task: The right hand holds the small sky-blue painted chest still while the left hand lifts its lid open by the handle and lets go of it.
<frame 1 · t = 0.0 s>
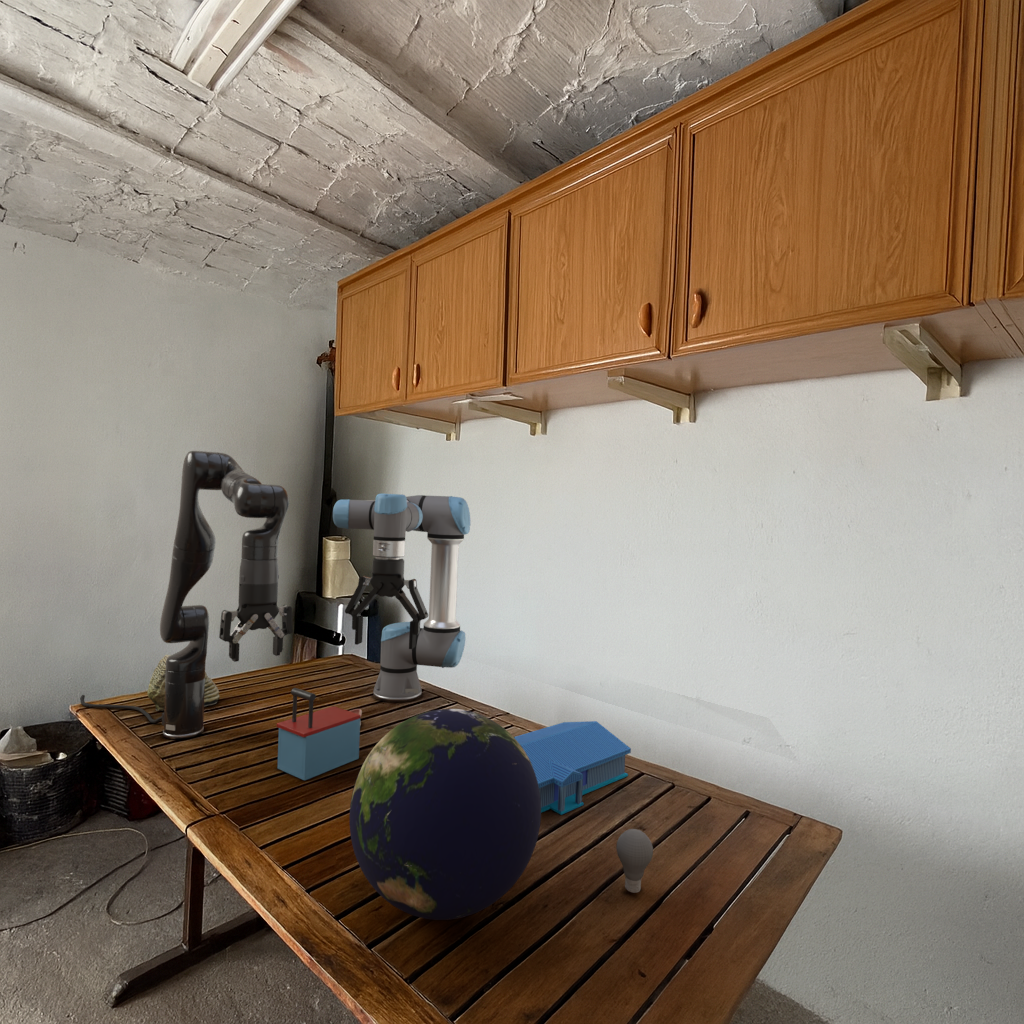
left hand: (256, 657, 132), 29 cm above the table, tool pointing down, fingers open, 8 cm apart
right hand: (385, 645, 153), 28 cm above the table, tool pointing down, fingers open, 13 cm apart
chest: (319, 763, 150), on the table
lid: (320, 704, 150), point 14 cm above the table, hinge at 0.0°
anatomical model: (335, 727, 174), on the table
light bulb: (632, 891, 106), on the table
model building: (543, 784, 144), on the table
globe: (442, 902, 101), on the table
fossil: (183, 706, 185), on the table
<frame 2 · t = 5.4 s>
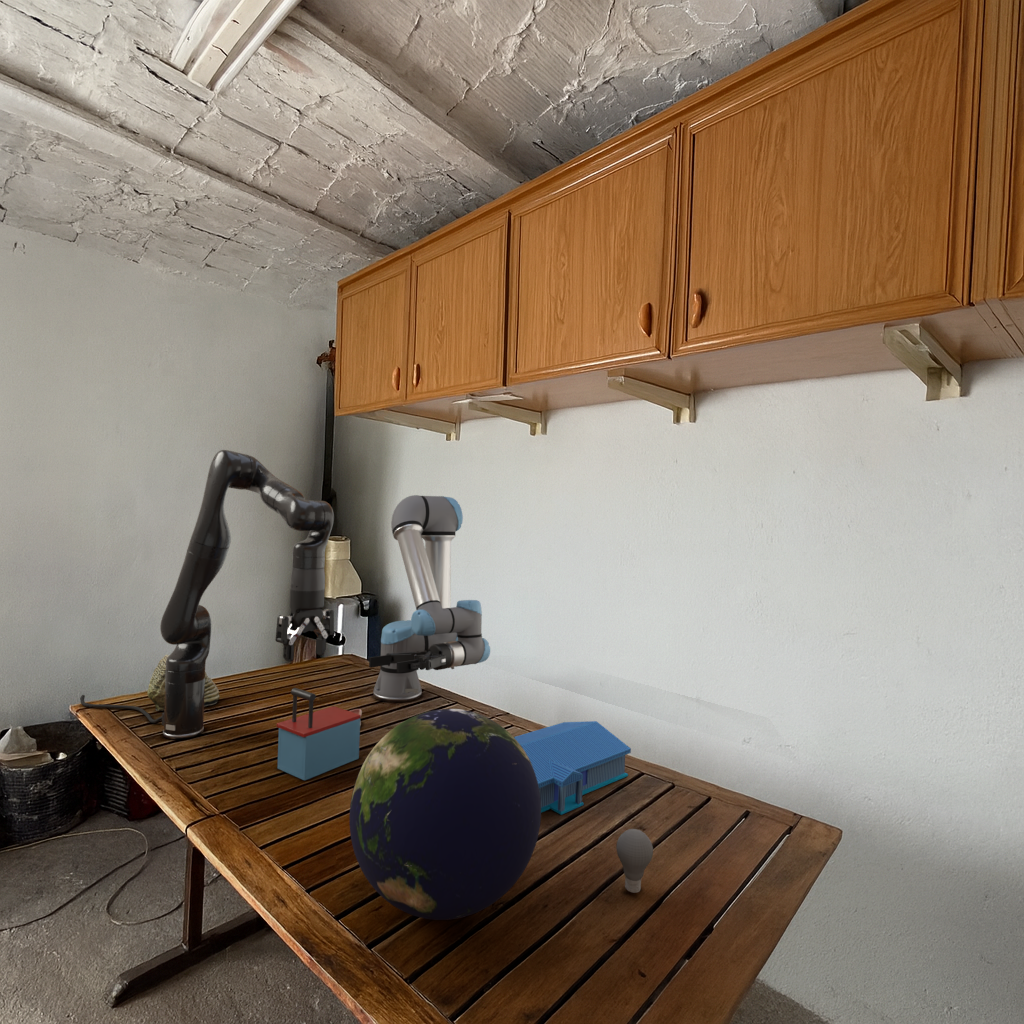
left hand: (304, 657, 145), 26 cm above the table, tool pointing down, fingers open, 8 cm apart
right hand: (383, 665, 172), 18 cm above the table, tool horizontal, fingers open, 13 cm apart
nothing on the table moved.
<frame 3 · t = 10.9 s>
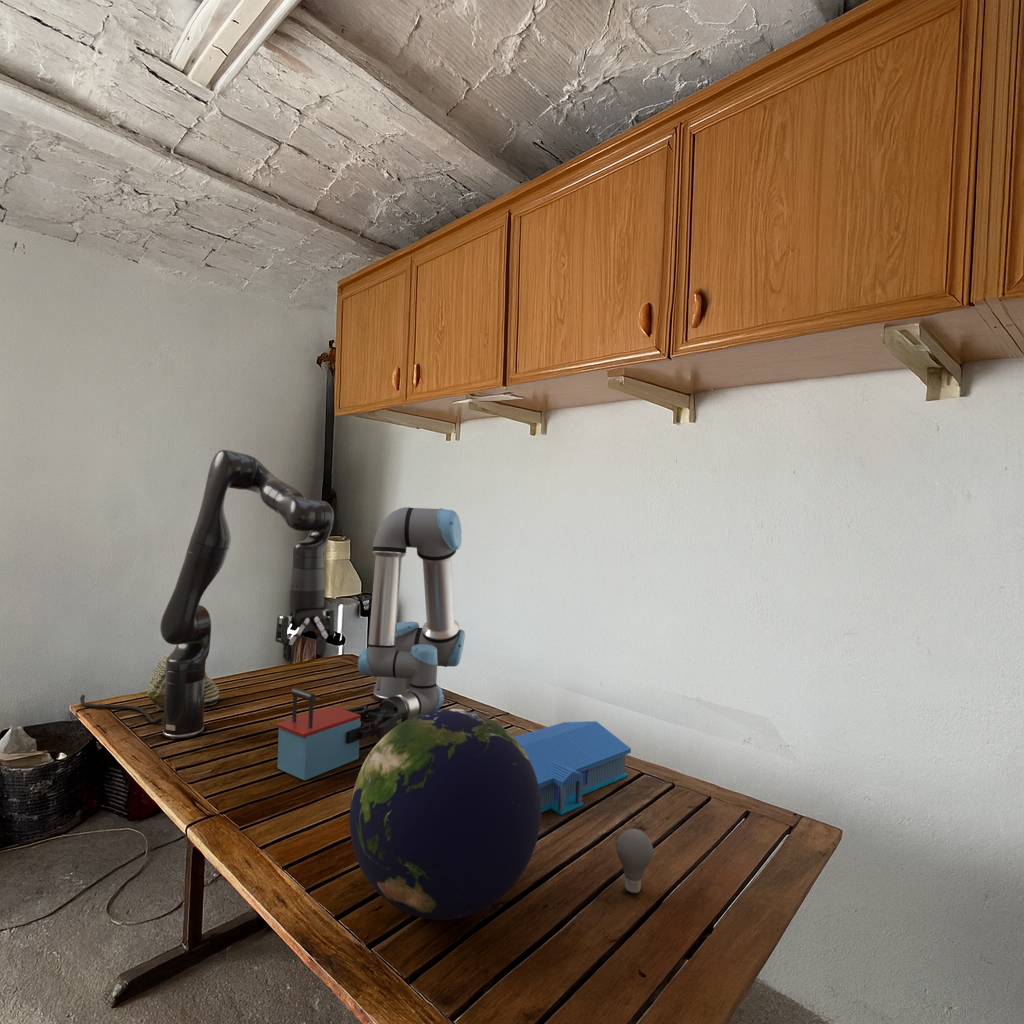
left hand: (304, 657, 145), 26 cm above the table, tool pointing down, fingers open, 8 cm apart
right hand: (332, 732, 153), 6 cm above the table, tool horizontal, fingers closed on chest, 10 cm apart
chest: (319, 763, 150), on the table, touching right hand
everything else where it was.
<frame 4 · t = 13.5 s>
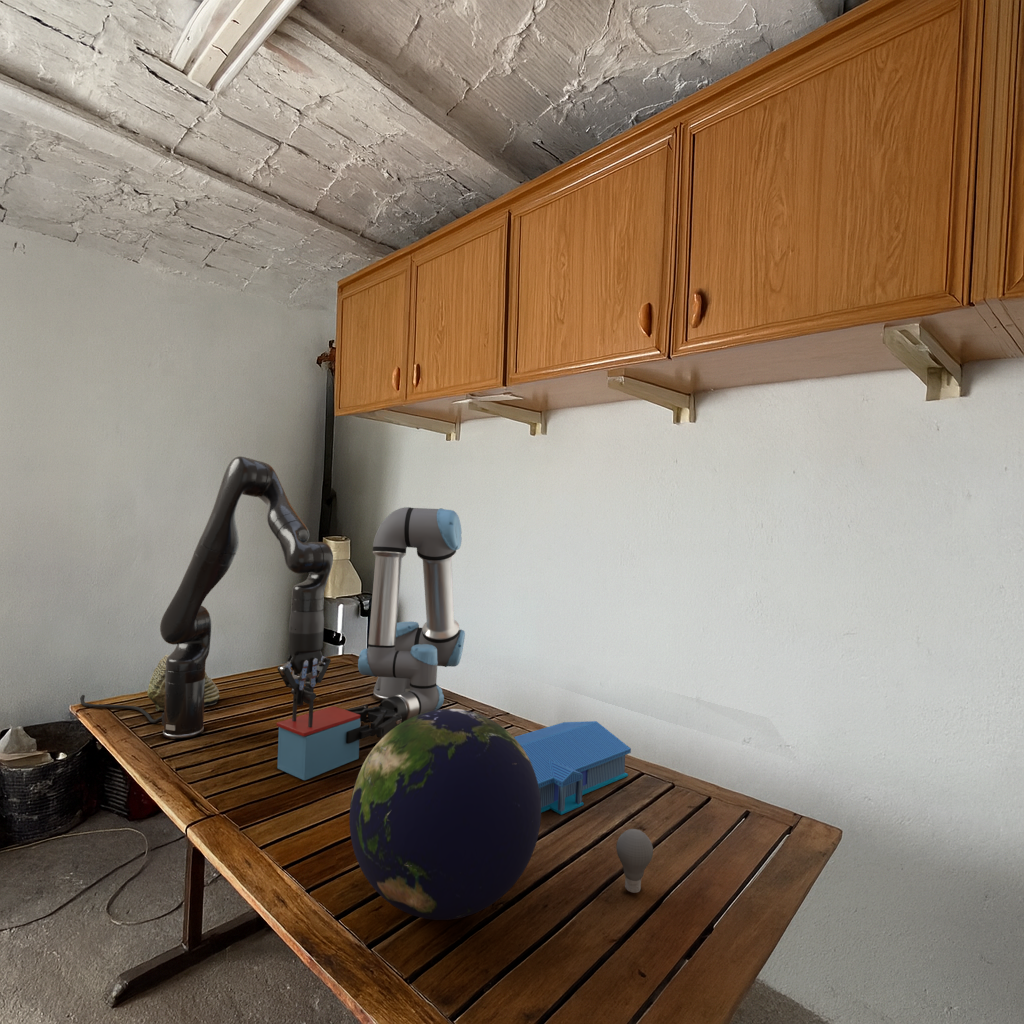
left hand: (303, 703, 146), 16 cm above the table, tool pointing down, fingers closed on lid, 2 cm apart
right hand: (332, 732, 153), 6 cm above the table, tool horizontal, fingers closed on chest, 10 cm apart
chest: (319, 763, 150), on the table, touching right hand
lid: (320, 703, 150), point 14 cm above the table, hinge at 0.6°, touching left hand
everything else where it was.
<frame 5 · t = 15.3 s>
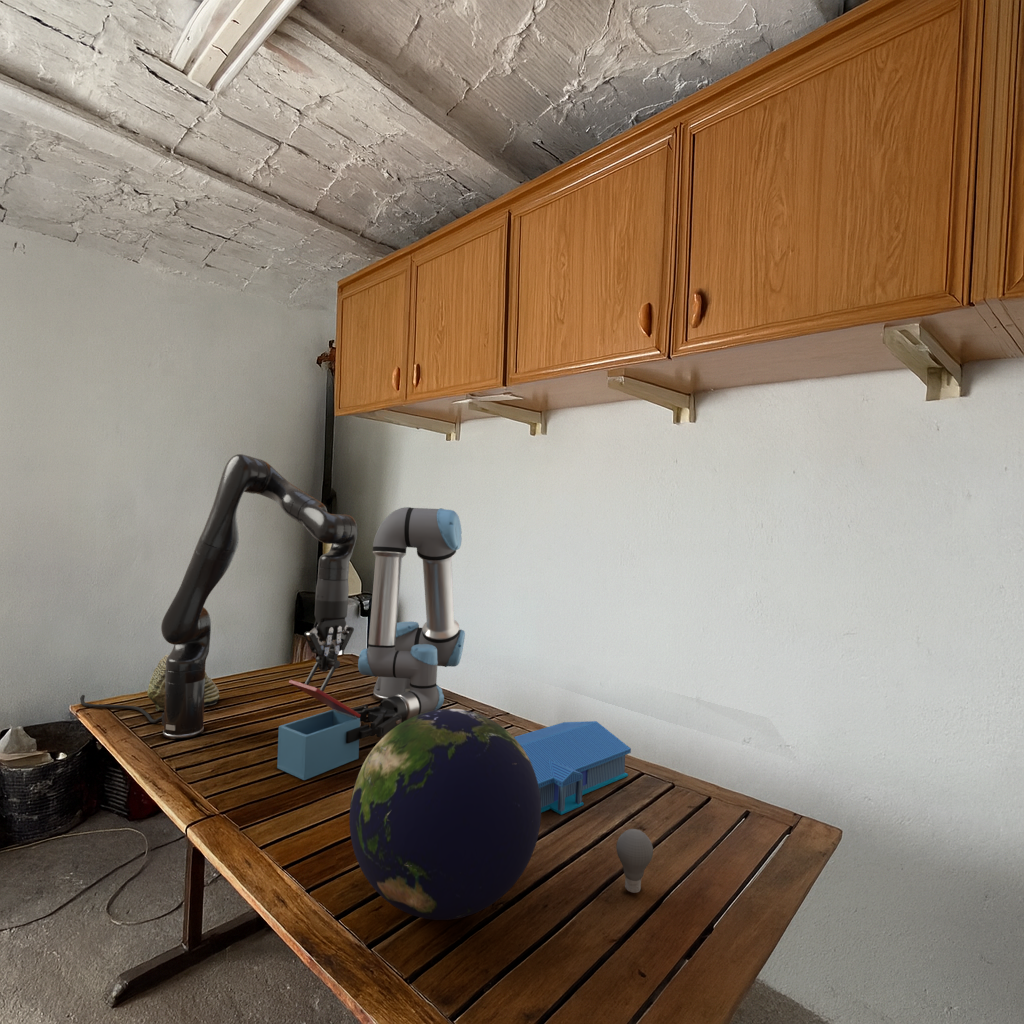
left hand: (327, 669, 151), 22 cm above the table, tool pointing down, fingers closed on lid, 2 cm apart
right hand: (332, 732, 153), 6 cm above the table, tool horizontal, fingers closed on chest, 10 cm apart
chest: (318, 763, 150), on the table, touching right hand
lid: (333, 683, 153), point 18 cm above the table, hinge at 35.5°, touching left hand
everything else where it was.
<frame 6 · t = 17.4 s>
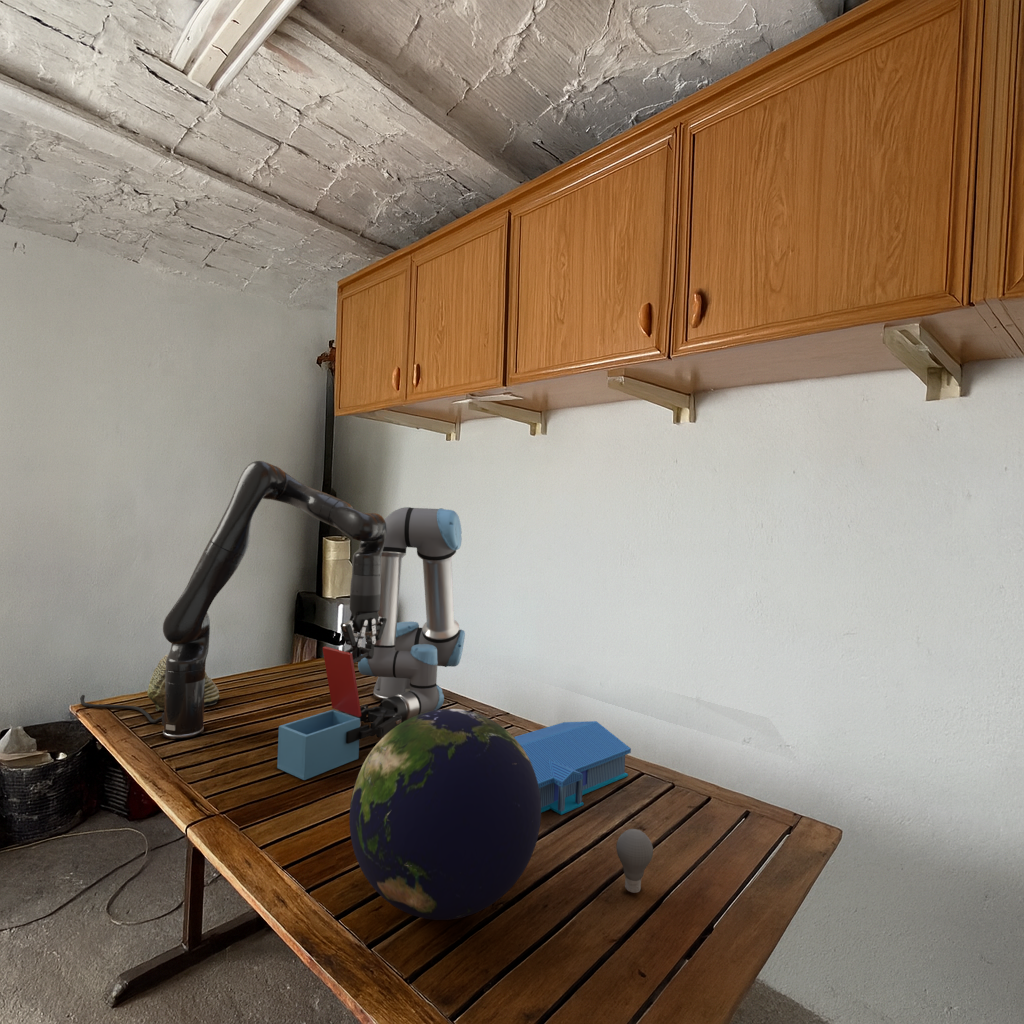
left hand: (362, 659, 160), 22 cm above the table, tool pointing down, fingers open, 3 cm apart
right hand: (332, 732, 153), 6 cm above the table, tool horizontal, fingers closed on chest, 10 cm apart
chest: (318, 763, 150), on the table, touching right hand
lid: (354, 674, 158), point 19 cm above the table, hinge at 76.5°
everything else where it was.
when the right hand's fingers open (6 cm above the table, at t = 21.3 s): chest stays where it is, on the table.
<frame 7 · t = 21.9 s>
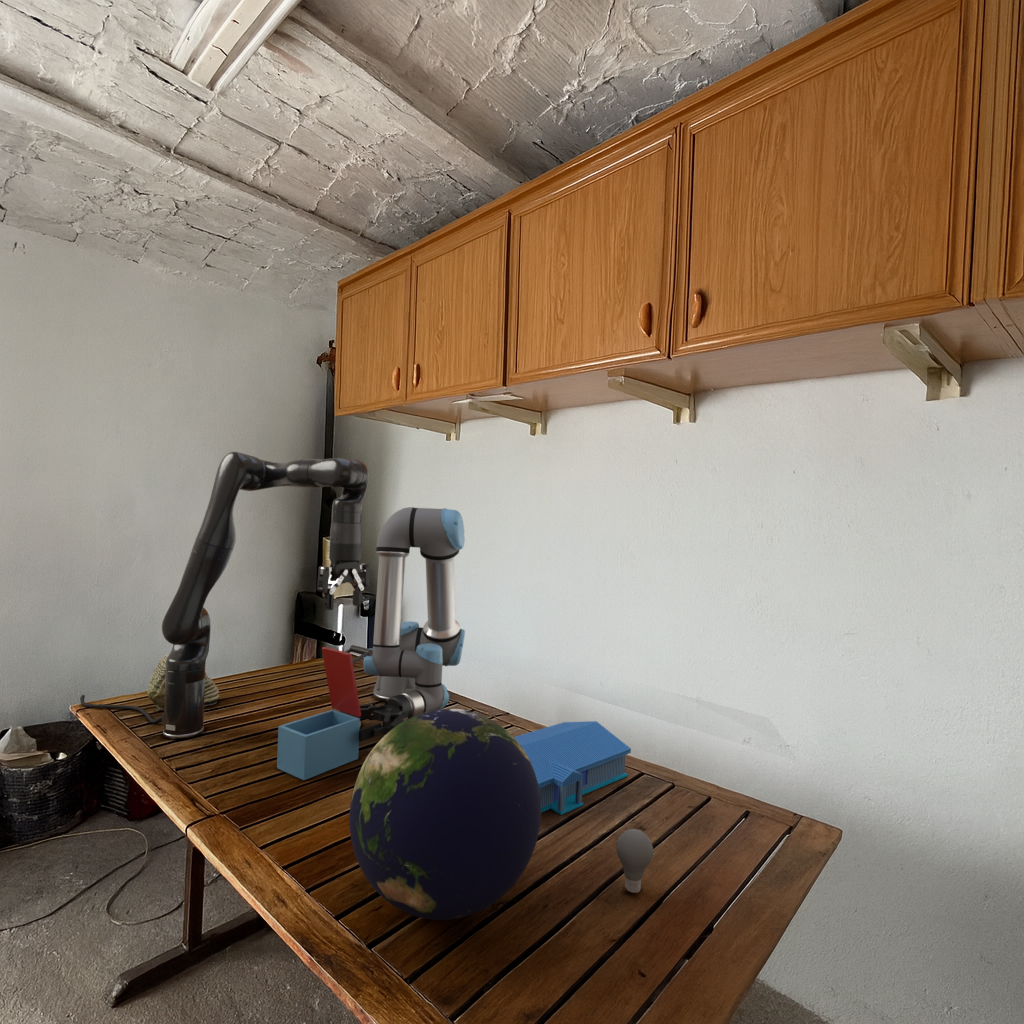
left hand: (343, 607, 154), 36 cm above the table, tool pointing down, fingers open, 8 cm apart
right hand: (341, 728, 156), 6 cm above the table, tool horizontal, fingers open, 13 cm apart
chest: (318, 763, 150), on the table
lid: (353, 674, 158), point 19 cm above the table, hinge at 76.0°
everything else where it was.
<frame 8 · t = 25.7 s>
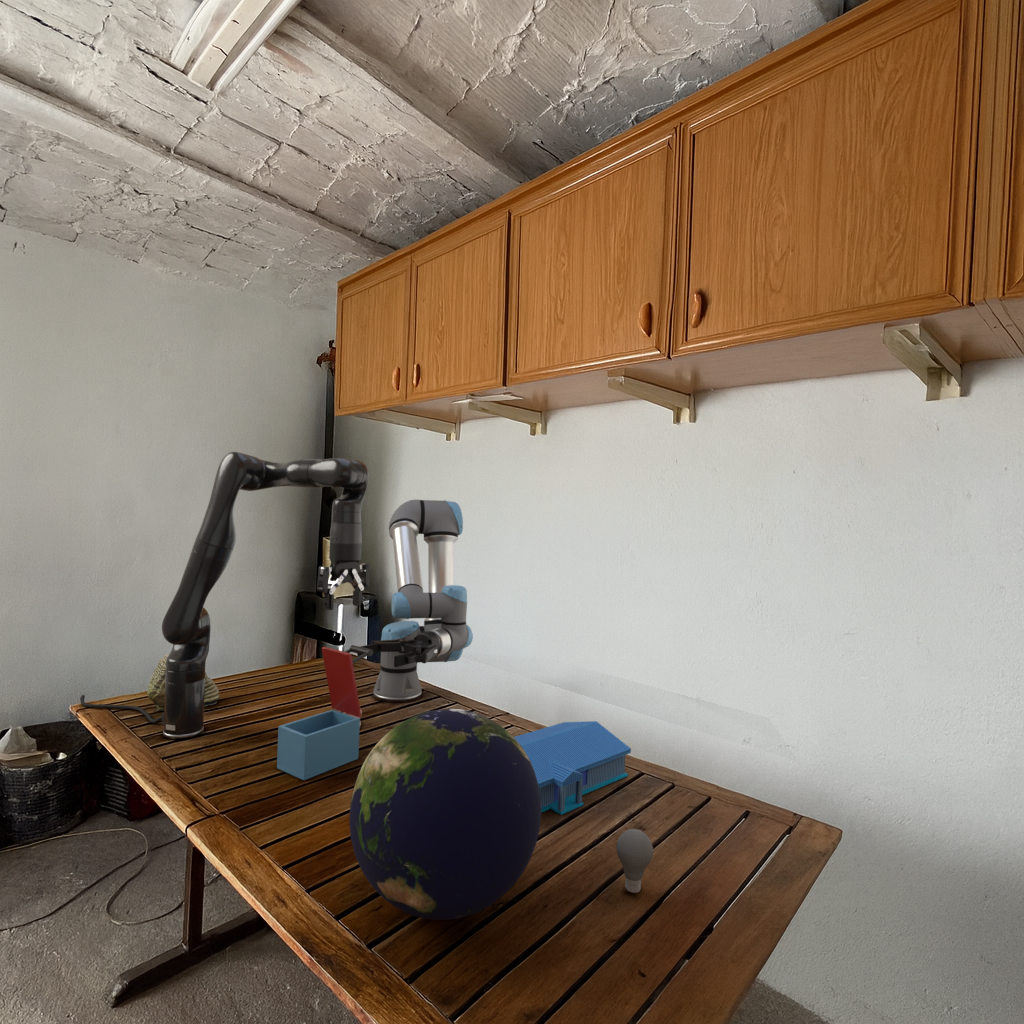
left hand: (343, 607, 154), 36 cm above the table, tool pointing down, fingers open, 8 cm apart
right hand: (376, 656, 164), 22 cm above the table, tool horizontal, fingers open, 13 cm apart
nothing on the table moved.
at the end: lid at +76° (first picture: +0°); the left hand is holding nothing; the right hand is holding nothing; chest tilted 0°; chest never tilted more than 1° during the clip; chest moved 0.1 cm from its start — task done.
